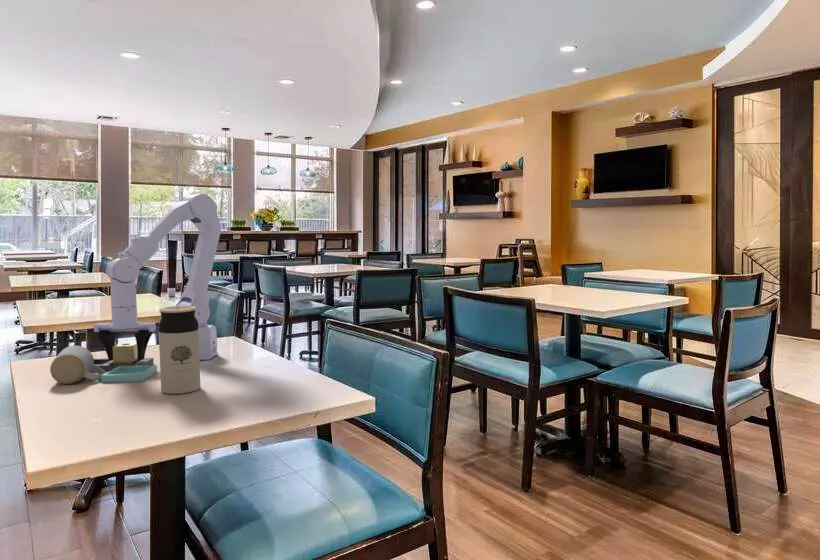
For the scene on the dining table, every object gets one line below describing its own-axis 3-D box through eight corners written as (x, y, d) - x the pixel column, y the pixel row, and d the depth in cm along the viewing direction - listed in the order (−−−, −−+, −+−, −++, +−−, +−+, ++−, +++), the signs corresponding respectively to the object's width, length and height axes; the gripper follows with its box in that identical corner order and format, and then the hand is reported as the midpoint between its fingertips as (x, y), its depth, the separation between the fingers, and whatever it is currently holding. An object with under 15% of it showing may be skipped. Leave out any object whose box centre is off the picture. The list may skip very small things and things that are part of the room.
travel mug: (165, 386, 129) (162, 306, 128) (202, 383, 131) (200, 304, 129) (157, 396, 122) (153, 311, 120) (197, 393, 123) (194, 309, 122)
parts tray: (157, 372, 142) (156, 365, 142) (141, 381, 133) (141, 374, 133) (119, 372, 141) (119, 366, 141) (101, 382, 133) (101, 375, 132)
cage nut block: (139, 365, 149) (138, 342, 148) (132, 369, 144) (131, 345, 144) (122, 365, 149) (120, 342, 148) (113, 370, 144) (112, 346, 144)
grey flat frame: (153, 363, 151) (153, 357, 150) (140, 371, 143) (140, 365, 142) (83, 364, 150) (82, 358, 150) (65, 371, 142) (65, 365, 142)
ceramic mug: (48, 387, 129) (47, 353, 128) (58, 378, 136) (57, 345, 136) (102, 383, 132) (100, 350, 131) (108, 375, 140) (107, 343, 139)
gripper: (86, 308, 141) (89, 363, 142) (146, 308, 141) (149, 363, 143) (100, 304, 148) (103, 357, 149) (158, 304, 148) (160, 356, 150)
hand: (126, 359), depth 146 cm, fingers open, 7 cm apart
